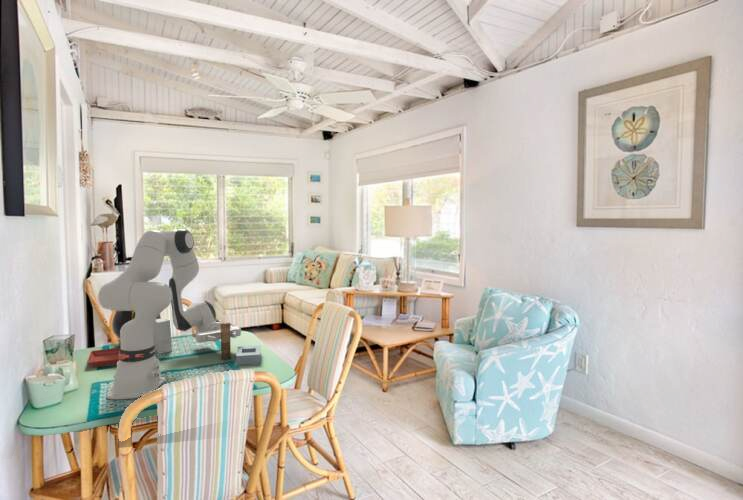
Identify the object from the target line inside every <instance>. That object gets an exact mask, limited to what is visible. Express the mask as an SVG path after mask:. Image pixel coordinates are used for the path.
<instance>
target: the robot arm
mask: <svg viewBox="0 0 743 500" xmlns="http://www.w3.org/2000/svg"><path fill="white" fill-rule="evenodd" d="M194 245H195V241H194V236H193V234H192V233H191V232H190V231H189V230H188V229H183V228H179V229H167V230H155V229H151V230H150V229H149V230H147V231H145V232H143V234H142V235H141V237H140V238H139V240H138V242H137V244H136V246H135V249H134V252H133V254H132V257H131V260H130V261H129V264H128V266H127V267H126V268H125V270H124V271H123V272H121V274H120V275H118V276H117V277H116V278H114V279H113V280H112V281H109V282H108V283H104V284H103V285H102V286H101V287H100V289H99V291H98V295H97V300H98V303H99V305H100V306H101V308H103V309H104V310H109V311H115V312H116V311H135V318H134V319H132V320H130V321H128V322H127V323H125V324H124V325H123V326H122V328H121V330H120V339H119V341H120V340H121V346H120V347H119V348H120V351H119V356H118V359H119V361H118V362H117V364H116V367H115V373H114V375H113V380H112V381H110V386H109V388H108V391H107V395H106V399H109V400H129V399H138V398H139V399H140V398H141V397H140V396H142V395H144V394H146V393H148V392H150V391H153V390H155V389H156V390H157V389H158V388H159V387H161V386H162V385H163V384H164V383H165V382H166V378H165V377H163V376H161V365H160V363H161V362H160V359H158V358H157V357H156V351H155V345H154V343H153V333H154V324H155V321H156V319H157V317H158V315H159V314H160V315H161V313H162V312H163V311H164V310H166V309H167V308H168V307H169V306H170V304H171V310H172V311H171V313H172V315H171V316H172V323H173V325H174V327H175V329H176V330H177V331H181V332H187V331H189V330H190V329H191V328H193V329H194V331H195V333H193V334H192V335H191V337H192V338H194V339H195V341H196V342H197V343H201V344H202V343H206V342H218V341H219V340H221V323H222V322H220V321H216V318H217V313H216V309H215V307H214V306H213V304H212V303H210V301H207V300H205V299H202V300H200V301H198V302H195V303H193V304H191V305H189V306H186V307H184V306H183V301H182V299H183V298H182V292H183V290H184V289H185V288H186V287H187V286H189V284H190V283H191V282H192V281H193V280H194V279H195V278H196V277H197V275H198V274H199V272H200V266H199V261H198V258H197V255H196V254H195V251H194V248H193V247H194ZM167 256H168V257H169V261H170V264H171V267H172V275H171V277H170V279H169V280H168V284H167V283H163V282H158V281H151V280H153V279H155V278H157V277H158V276H159V275H160V272H161V269H162V266H163V263H164V260H165V257H167ZM227 322H228V321H227ZM228 323H230V338H233V339H235V338H237V337H241V336H242V328H241V327H240V326H237V325H235V324H233V323H232V322H228ZM156 390H155V391H156ZM153 392H154V391H153Z"/></svg>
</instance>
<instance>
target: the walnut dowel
mask: <svg viewBox="0 0 743 500" xmlns="http://www.w3.org/2000/svg"><path fill="white" fill-rule="evenodd" d="M230 323H231V322H230ZM230 323H228V321H227V322H221V339H220V359H221V361H228V360H231V353H232V352H231V337H230Z"/></svg>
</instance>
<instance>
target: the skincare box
mask: <svg viewBox="0 0 743 500" xmlns="http://www.w3.org/2000/svg"><path fill="white" fill-rule="evenodd" d="M153 342H154V343H153V344H154V345H155V352H157V353H158V354H164V353H169V352H173V346H172V331H171V319H168V318H166V317H163V318H161V319H156V321H155V324H154V333H153Z"/></svg>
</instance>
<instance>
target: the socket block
mask: <svg viewBox="0 0 743 500" xmlns="http://www.w3.org/2000/svg"><path fill="white" fill-rule="evenodd" d="M235 364H236V365H235V366H242V365H244V366H245V365H258V364H261V345H245V346H244V345H243V346H242V345H241V346H237V350H236V356H235Z"/></svg>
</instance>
